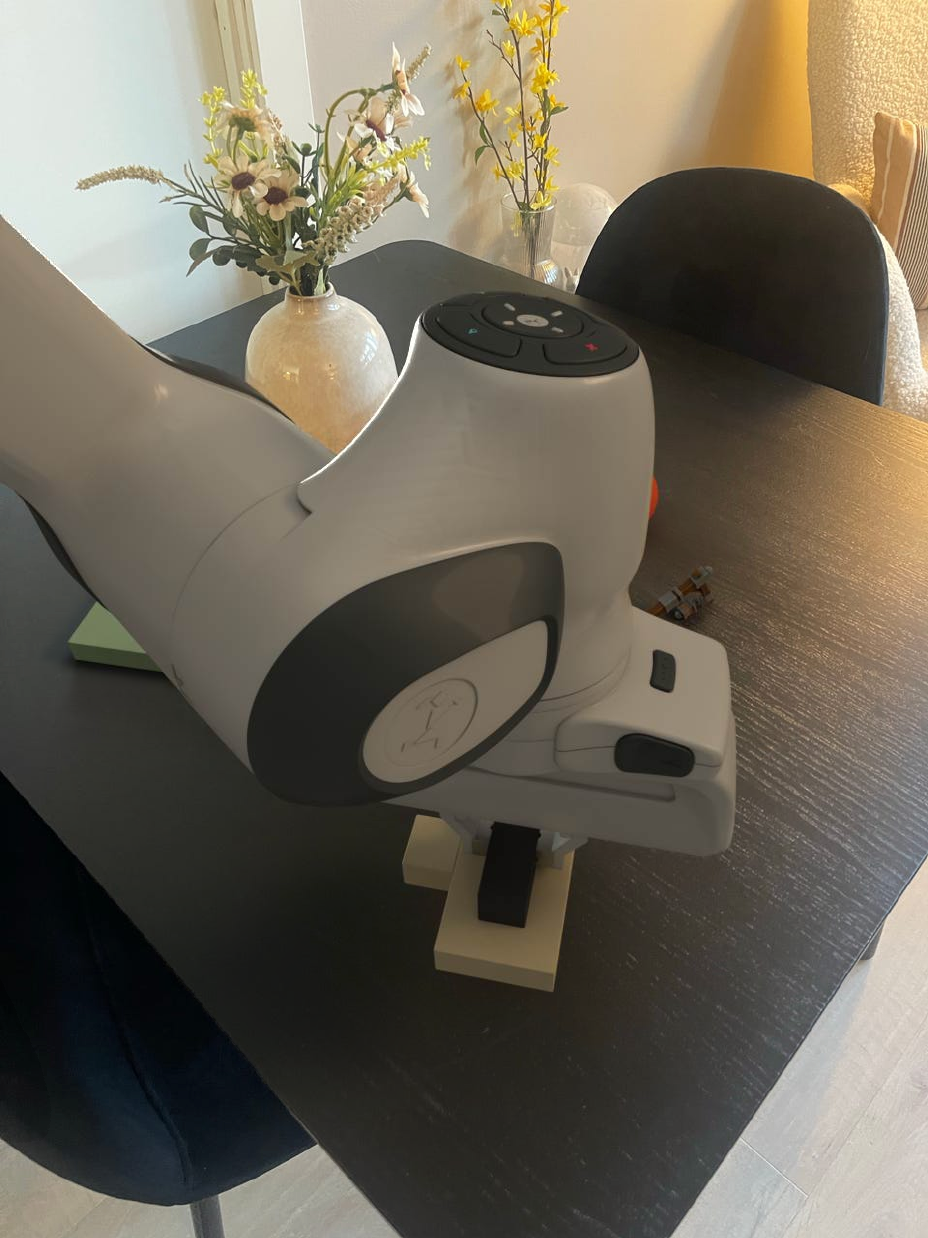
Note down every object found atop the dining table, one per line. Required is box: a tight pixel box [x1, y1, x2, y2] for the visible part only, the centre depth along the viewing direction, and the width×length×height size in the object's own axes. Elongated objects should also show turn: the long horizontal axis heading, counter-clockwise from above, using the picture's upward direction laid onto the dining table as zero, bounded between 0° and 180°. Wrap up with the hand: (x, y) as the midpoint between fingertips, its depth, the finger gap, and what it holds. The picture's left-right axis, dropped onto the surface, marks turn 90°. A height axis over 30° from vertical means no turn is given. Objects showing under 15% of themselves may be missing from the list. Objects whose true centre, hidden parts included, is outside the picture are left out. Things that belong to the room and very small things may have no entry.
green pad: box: [67, 601, 163, 673], centre depth 79 cm, size 12×12×2 cm
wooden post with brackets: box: [644, 565, 715, 620], centre depth 76 cm, size 2×8×4 cm, turn 117°
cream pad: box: [401, 814, 576, 993], centre depth 51 cm, size 12×9×4 cm
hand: (515, 850), depth 50 cm, fingers closed on cream pad, 2 cm apart
